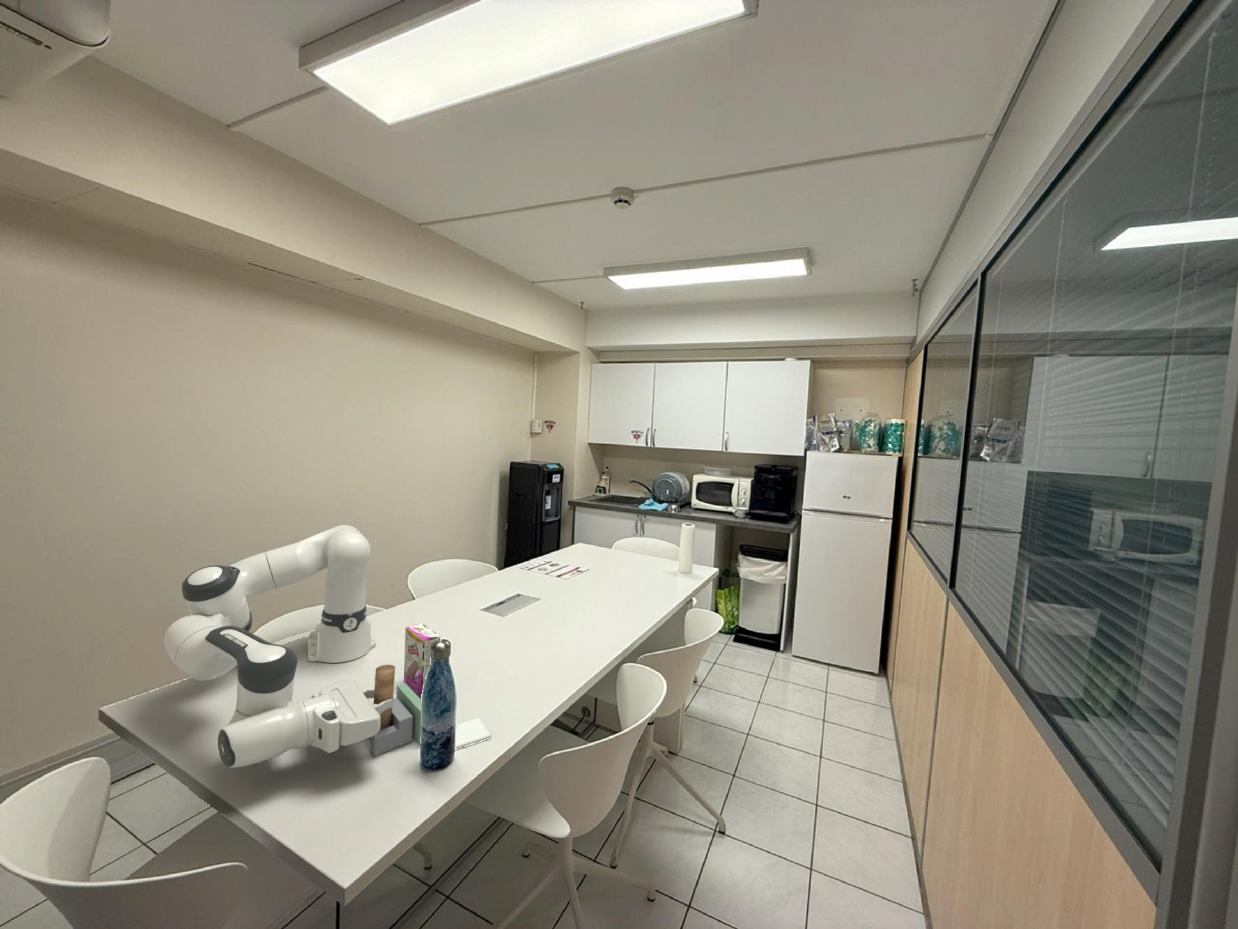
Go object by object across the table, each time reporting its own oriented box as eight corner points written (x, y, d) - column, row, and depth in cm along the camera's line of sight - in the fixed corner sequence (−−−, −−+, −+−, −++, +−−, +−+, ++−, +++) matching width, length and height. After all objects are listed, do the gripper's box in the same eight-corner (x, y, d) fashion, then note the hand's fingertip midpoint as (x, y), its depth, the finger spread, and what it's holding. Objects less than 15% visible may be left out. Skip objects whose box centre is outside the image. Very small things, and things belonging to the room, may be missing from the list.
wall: (395, 716, 121) (397, 685, 120) (404, 713, 122) (405, 683, 122) (418, 744, 111) (420, 711, 110) (427, 741, 112) (428, 708, 112)
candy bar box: (402, 683, 136) (404, 626, 135) (419, 677, 140) (421, 622, 139) (421, 700, 129) (423, 640, 128) (438, 693, 132) (441, 635, 131)
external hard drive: (490, 741, 115) (436, 759, 108) (478, 723, 122) (426, 738, 114) (490, 734, 115) (436, 752, 108) (478, 717, 121) (426, 732, 114)
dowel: (368, 735, 112) (373, 667, 111) (386, 729, 114) (391, 663, 114) (374, 744, 109) (379, 674, 108) (393, 738, 112) (397, 669, 111)
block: (360, 733, 113) (360, 709, 113) (395, 721, 119) (396, 697, 119) (374, 756, 106) (375, 729, 106) (411, 741, 112) (412, 716, 111)
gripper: (306, 710, 110) (372, 690, 120) (332, 757, 95) (404, 731, 105) (307, 683, 109) (372, 665, 119) (333, 727, 95) (405, 702, 105)
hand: (387, 696), depth 112 cm, fingers closed on dowel, 4 cm apart
